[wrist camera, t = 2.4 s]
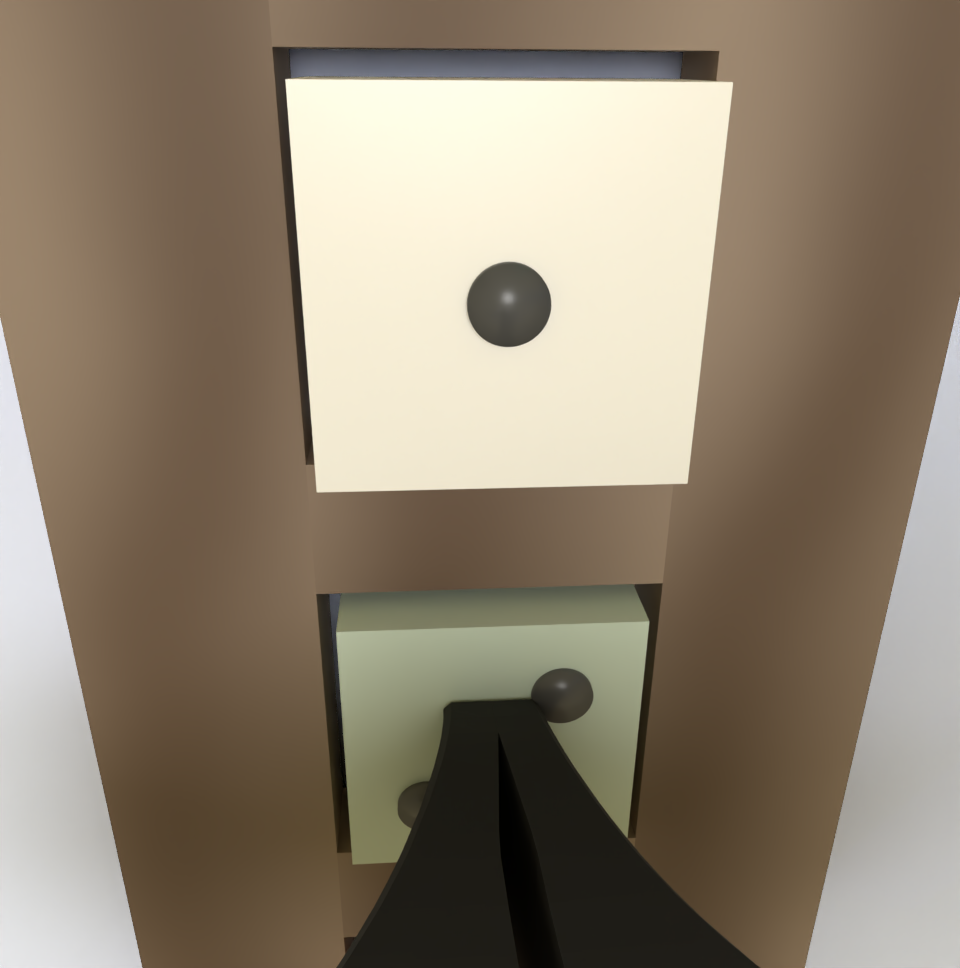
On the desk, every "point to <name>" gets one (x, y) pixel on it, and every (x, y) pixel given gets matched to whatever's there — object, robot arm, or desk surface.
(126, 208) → the button board
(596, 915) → the robot arm
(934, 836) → the desk surface
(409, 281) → the cream button
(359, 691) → the sage button
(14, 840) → the desk surface
